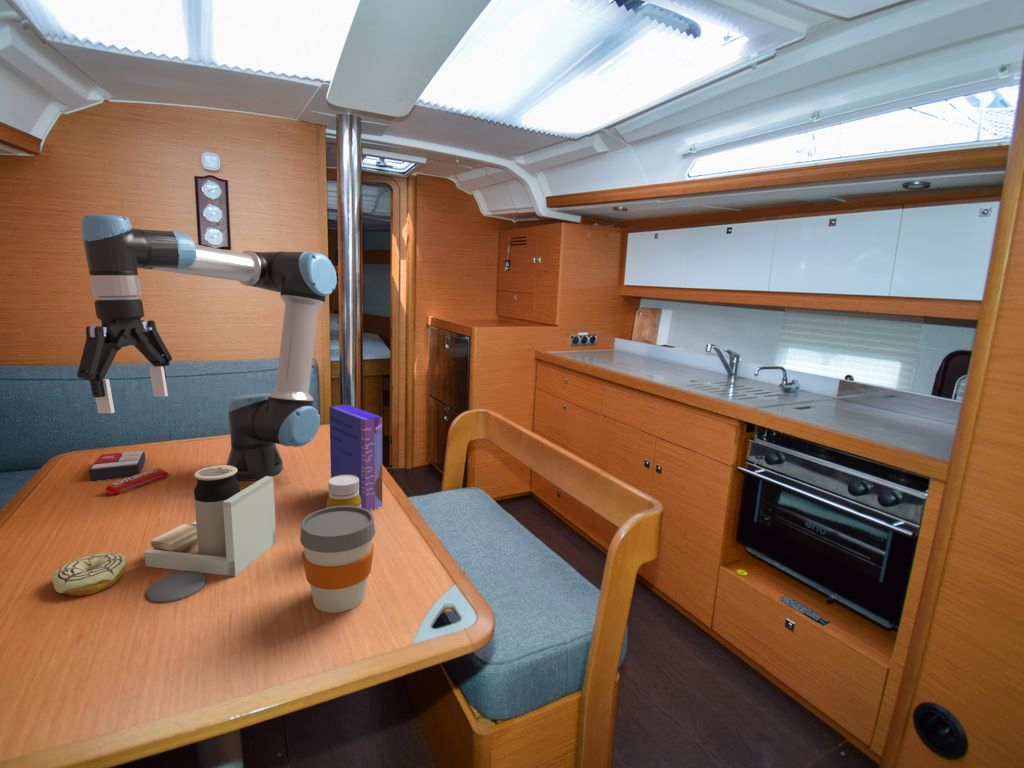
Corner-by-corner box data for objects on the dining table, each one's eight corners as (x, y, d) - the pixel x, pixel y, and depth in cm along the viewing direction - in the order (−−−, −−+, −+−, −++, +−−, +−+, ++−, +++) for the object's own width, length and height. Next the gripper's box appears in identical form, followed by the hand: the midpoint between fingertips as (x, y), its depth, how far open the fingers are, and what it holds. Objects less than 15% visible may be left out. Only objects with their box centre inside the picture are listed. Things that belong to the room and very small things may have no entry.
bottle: (368, 541, 112) (367, 477, 110) (348, 556, 106) (347, 488, 103) (341, 535, 114) (340, 472, 112) (320, 549, 108) (318, 482, 105)
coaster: (199, 568, 99) (199, 566, 99) (211, 589, 92) (211, 587, 92) (142, 585, 93) (142, 583, 93) (151, 609, 86) (151, 606, 86)
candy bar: (112, 498, 129) (111, 487, 128) (102, 496, 130) (100, 485, 129) (171, 477, 144) (170, 467, 143) (161, 475, 145) (160, 465, 144)
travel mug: (230, 565, 100) (224, 479, 97) (190, 563, 100) (183, 477, 97) (250, 545, 108) (246, 465, 105) (213, 544, 108) (208, 463, 105)
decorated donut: (49, 607, 86) (46, 587, 85) (58, 576, 95) (56, 558, 94) (125, 588, 92) (123, 569, 91) (128, 561, 101) (126, 543, 100)
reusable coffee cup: (355, 624, 85) (354, 541, 82) (287, 613, 87) (283, 532, 84) (386, 583, 97) (386, 509, 94) (326, 574, 99) (324, 501, 96)
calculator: (144, 449, 155) (138, 462, 142) (146, 462, 156) (139, 476, 143) (99, 453, 150) (88, 467, 137) (100, 467, 151) (89, 482, 138)
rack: (145, 566, 99) (138, 493, 96) (196, 533, 112) (191, 469, 109) (235, 576, 97) (230, 502, 94) (276, 542, 110) (273, 476, 107)
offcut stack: (147, 560, 101) (145, 543, 100) (185, 536, 111) (184, 520, 110) (178, 564, 100) (177, 546, 99) (214, 539, 110) (212, 523, 109)
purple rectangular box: (382, 507, 130) (382, 416, 125) (365, 512, 126) (364, 419, 122) (347, 487, 141) (346, 403, 137) (331, 491, 138) (329, 405, 134)
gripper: (150, 295, 111) (164, 390, 116) (36, 301, 87) (59, 420, 91) (182, 295, 111) (195, 390, 115) (76, 301, 86) (98, 421, 91)
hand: (135, 404), depth 103 cm, fingers open, 13 cm apart
